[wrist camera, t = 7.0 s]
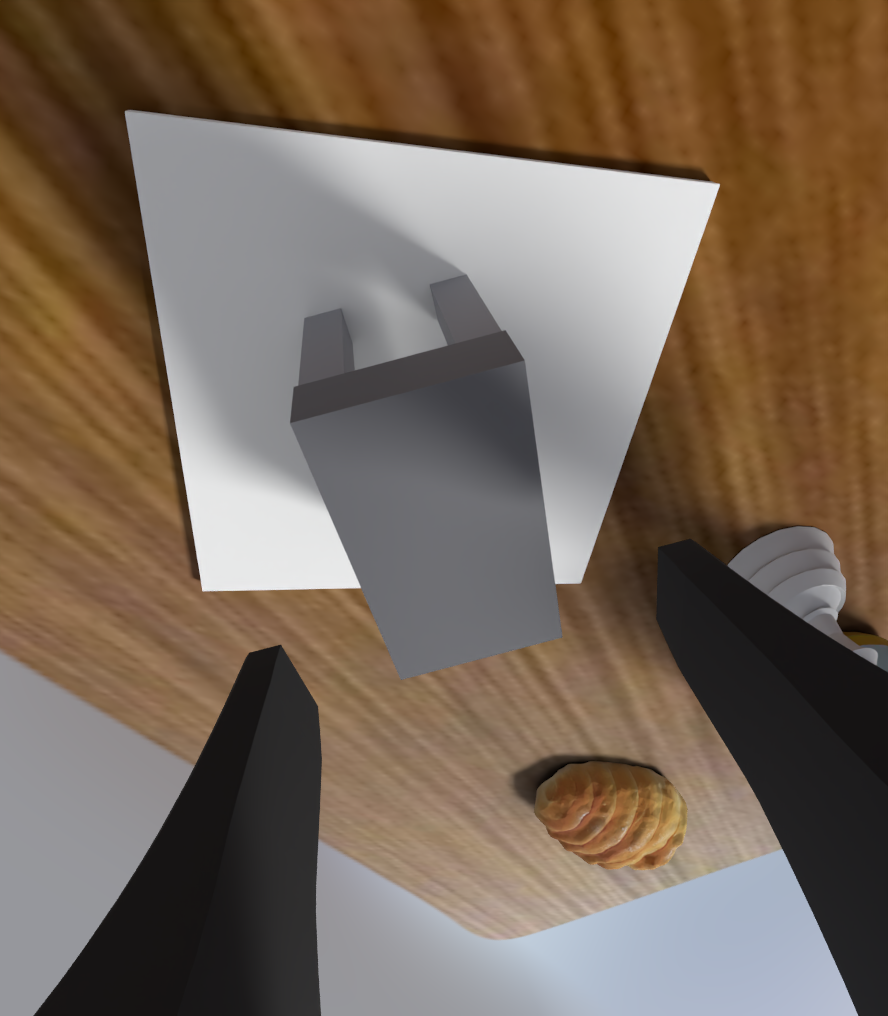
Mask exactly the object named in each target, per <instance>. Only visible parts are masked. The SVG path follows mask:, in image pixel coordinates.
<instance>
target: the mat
mask: <svg viewBox="0 0 888 1016" xmlns="http://www.w3.org/2000/svg"><path fill="white" fill-rule="evenodd" d="M125 117H126V123H127V129H128V135H129V141H130V147H131V153H132V160H133V166H134V172H135V178H136V184H137V190H138V197H139V203H140V209H141V215H142V221H143V227H144V233H145V240H146V246H147V252H148V258H149V264H150V270H151V277H152V283H153V289H154V295H155V301H156V307H157V313H158V320H159V326H160V332H161V338H162V344H163V350H164V356H165V363H166V369H167V375H168V381H169V387H170V393H171V400H172V406H173V412H174V418H175V424H176V430H177V436H178V443H179V449H180V455H181V461H182V467H183V473H184V480H185V486H186V492H187V498H188V504H189V510H190V516H191V523H192V529H193V535H194V541H195V547H196V553H197V560H198V566H199V572H200V578H201V584H202V590H203V591H238V590H287V589H335V588H361V586H360V584H359V582H358V579H357V577H356V575H355V573H354V570H353V568H352V566H351V563H350V561H349V559H348V556H347V554H346V552H345V549H344V547H343V545H342V542H341V540H340V538H339V536H338V533H337V531H336V529H335V526H334V524H333V522H332V519H331V517H330V515H329V512H328V510H327V508H326V505H325V503H324V501H323V499H322V496H321V494H320V492H319V489H318V487H317V485H316V482H315V480H314V478H313V475H312V473H311V471H310V469H309V466H308V464H307V462H306V459H305V457H304V455H303V452H302V450H301V448H300V445H299V443H298V441H297V438H296V436H295V434H294V432H293V429H292V427H291V425H290V418H291V408H292V398H293V389H294V387H295V386H298V382H299V371H300V360H301V349H302V338H303V327H304V318H306V317H310V316H314V315H317V314H321V313H325V312H329V311H332V310H336V309H340V308H341V309H342V312H343V316H344V319H345V322H346V325H347V328H348V331H349V334H350V337H351V340H352V343H353V354H354V366H355V370H358V369H362V368H366V367H370V366H373V365H377V364H381V363H385V362H388V361H392V360H396V359H399V358H403V357H407V356H411V355H414V354H418V353H422V352H426V351H429V350H433V349H437V348H441V347H444V346H448V345H447V342H446V340H445V337H444V335H443V332H442V330H441V327H440V325H439V322H438V319H437V315H436V310H435V306H434V302H433V297H432V293H431V288H430V284H433V283H436V282H440V281H444V280H448V279H451V278H455V277H459V276H462V275H466V274H467V276H468V277H469V279H470V281H471V282H472V284H473V285H474V287H475V289H476V290H477V292H478V294H479V295H480V297H481V298H482V300H483V302H484V303H485V305H486V306H487V308H488V310H489V311H490V313H491V314H492V316H493V318H494V319H495V321H496V323H497V324H498V326H499V327H500V329H501V331H504V330H506V332H507V333H508V335H509V336H510V338H511V339H512V341H513V343H514V344H515V346H516V347H517V349H518V350H519V352H520V354H521V355H522V357H523V358H524V360H525V365H526V372H527V380H528V387H529V394H530V402H531V409H532V417H533V424H534V431H535V439H536V446H537V453H538V461H539V468H540V476H541V483H542V490H543V498H544V505H545V512H546V520H547V527H548V535H549V542H550V549H551V557H552V564H553V571H554V579H555V584H577V583H581V581H582V578H583V575H584V573H585V570H586V567H587V564H588V561H589V558H590V555H591V553H592V550H593V547H594V544H595V541H596V538H597V535H598V533H599V530H600V527H601V524H602V521H603V518H604V515H605V512H606V510H607V507H608V504H609V501H610V498H611V495H612V492H613V490H614V487H615V484H616V481H617V478H618V475H619V472H620V470H621V467H622V464H623V461H624V458H625V455H626V452H627V449H628V447H629V444H630V441H631V438H632V435H633V432H634V429H635V427H636V424H637V421H638V418H639V415H640V412H641V409H642V407H643V404H644V401H645V398H646V395H647V392H648V389H649V386H650V384H651V381H652V378H653V375H654V372H655V369H656V366H657V364H658V361H659V358H660V355H661V352H662V349H663V346H664V344H665V341H666V338H667V335H668V332H669V329H670V326H671V323H672V321H673V318H674V315H675V312H676V309H677V306H678V303H679V301H680V298H681V295H682V292H683V289H684V286H685V283H686V281H687V278H688V275H689V272H690V269H691V266H692V263H693V260H694V258H695V255H696V252H697V249H698V246H699V243H700V240H701V238H702V235H703V232H704V229H705V226H706V223H707V220H708V218H709V215H710V212H711V209H712V206H713V203H714V200H715V197H716V195H717V192H718V189H719V186H720V184H718V183H715V182H711V181H703V180H695V179H687V178H679V177H671V176H663V175H655V174H646V173H638V172H630V171H622V170H614V169H606V168H598V167H590V166H582V165H574V164H565V163H557V162H549V161H541V160H533V159H525V158H517V157H509V156H501V155H493V154H484V153H476V152H468V151H460V150H452V149H444V148H436V147H428V146H420V145H411V144H403V143H395V142H387V141H379V140H371V139H363V138H355V137H347V136H339V135H330V134H322V133H314V132H306V131H298V130H290V129H282V128H274V127H266V126H257V125H249V124H241V123H233V122H225V121H217V120H209V119H201V118H193V117H185V116H176V115H168V114H160V113H152V112H144V111H136V110H127V111H125Z"/></svg>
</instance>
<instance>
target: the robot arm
mask: <svg viewBox="0 0 888 1016" xmlns="http://www.w3.org/2000/svg"><path fill="white" fill-rule="evenodd" d="M656 619H657V622H658V624H659V626H660V628H661V630H662V633H663V635H664V637H665V639H666V642H667V644H668V646H669V648H670V650H671V652H672V655H673V657H674V659H675V661H676V663H677V665H678V667H679V669H680V671H681V672H682V674H683V676H684V677H685V679H686V681H687V682H688V684H689V686H690V687H691V689H692V691H693V692H694V694H695V696H696V697H697V699H698V701H699V702H700V704H701V706H702V707H703V709H704V710H705V712H706V714H707V715H708V717H709V719H710V720H711V722H712V723H713V725H714V727H715V728H716V730H717V732H718V733H719V735H720V736H721V738H722V740H723V741H724V743H725V745H726V746H727V748H728V749H729V751H730V753H731V754H732V756H733V758H734V759H735V761H736V763H737V764H738V766H739V767H740V769H741V771H742V772H743V774H744V776H745V777H746V779H747V781H748V783H749V784H750V786H751V788H752V790H753V792H754V793H755V795H756V797H757V799H758V800H759V802H760V804H761V806H762V808H763V810H764V812H765V815H766V817H767V819H768V821H769V823H770V825H771V827H772V829H773V831H774V833H775V835H776V837H777V839H778V841H779V843H780V845H781V847H782V849H783V851H784V853H785V855H786V857H787V859H788V861H789V863H790V865H791V868H792V869H793V872H794V874H795V876H796V878H797V880H798V882H799V884H800V886H801V888H802V891H803V893H804V895H805V897H806V899H807V901H808V903H809V906H810V907H811V910H812V912H813V914H814V916H815V919H816V921H817V923H818V925H819V927H820V930H821V932H822V934H823V936H824V938H825V941H826V943H827V945H828V947H829V950H830V952H831V954H832V956H833V958H834V960H835V963H836V965H837V967H838V970H839V972H840V974H841V976H842V978H843V981H844V983H845V985H846V988H847V990H848V992H849V995H850V997H851V999H852V1002H853V1004H854V1006H855V1009H856V1011H857V1013H858V1016H888V672H887V671H885V670H883V669H882V668H880V667H878V666H877V665H875V664H873V663H871V662H870V661H868V660H866V659H865V658H863V657H861V656H860V655H858V654H856V653H855V652H853V651H852V650H850V649H848V648H847V647H845V646H843V645H842V644H840V643H839V642H837V641H835V640H834V639H832V638H831V637H829V636H827V635H826V634H824V633H823V632H821V631H820V630H818V629H817V628H815V627H814V626H812V625H810V624H809V623H807V622H806V621H804V620H803V619H802V618H800V617H799V616H797V615H796V614H794V613H793V612H791V611H790V610H788V609H787V608H785V607H784V606H782V605H781V604H780V603H778V602H777V601H775V600H774V599H772V598H771V597H769V596H768V595H767V594H765V593H764V592H762V591H761V590H760V589H758V588H757V587H755V586H754V585H753V584H751V583H750V582H749V581H747V580H746V579H744V578H743V577H742V576H740V575H739V574H738V573H736V572H735V571H734V570H732V569H731V568H730V567H728V566H727V565H726V564H724V563H723V562H722V561H720V560H719V559H718V558H716V557H715V556H714V555H712V554H711V553H710V552H708V551H707V550H706V549H704V548H703V547H702V546H700V545H699V544H698V543H696V542H695V541H693V540H692V539H688V540H684V541H680V542H676V543H673V544H669V545H665V546H661V547H658V577H657V615H656ZM321 766H322V756H321V739H320V726H319V714H318V706H317V704H316V702H315V701H314V699H313V697H312V696H311V694H310V692H309V691H308V689H307V687H306V686H305V684H304V682H303V681H302V679H301V677H300V676H299V674H298V672H297V671H296V669H295V667H294V666H293V664H292V662H291V661H290V659H289V657H288V656H287V654H286V652H285V651H284V649H283V647H282V646H281V645H278V646H274V647H270V648H266V649H262V650H258V651H254V652H251V653H249V654H248V656H247V657H246V659H245V661H244V663H243V666H242V668H241V670H240V672H239V674H238V676H237V679H236V681H235V683H234V685H233V688H232V690H231V692H230V694H229V696H228V698H227V701H226V703H225V705H224V707H223V709H222V711H221V714H220V716H219V718H218V720H217V722H216V724H215V726H214V728H213V730H212V732H211V734H210V737H209V739H208V741H207V743H206V745H205V747H204V749H203V751H202V753H201V755H200V757H199V759H198V761H197V763H196V765H195V767H194V769H193V771H192V773H191V775H190V776H189V778H188V780H187V782H186V784H185V786H184V788H183V789H182V791H181V793H180V795H179V797H178V799H177V800H176V802H175V804H174V806H173V808H172V810H171V811H170V814H169V815H168V817H167V819H166V820H165V822H164V824H163V826H162V828H161V830H160V831H159V833H158V835H157V836H156V838H155V840H154V841H153V843H152V845H151V846H150V848H149V850H148V851H147V853H146V855H145V856H144V858H143V860H142V861H141V863H140V865H139V866H138V868H137V869H136V871H135V873H134V874H133V876H132V877H131V879H130V880H129V882H128V884H127V885H126V887H125V888H124V890H123V891H122V893H121V895H120V896H119V898H118V899H117V901H116V902H115V904H114V905H113V907H112V908H111V910H110V911H109V912H108V914H107V915H106V917H105V918H104V920H103V921H102V923H101V924H100V926H99V927H98V929H97V930H96V931H95V933H94V935H93V936H92V937H91V939H90V940H89V942H88V943H87V945H86V946H85V948H84V949H83V950H82V952H81V953H80V955H79V956H78V957H77V959H76V960H75V962H74V963H73V964H72V966H71V967H70V968H69V970H68V971H67V973H66V974H65V975H64V977H63V978H62V979H61V981H60V982H59V984H58V985H57V986H56V987H55V989H54V990H53V991H52V992H51V994H50V995H49V996H48V998H47V999H46V1000H45V1002H44V1003H43V1004H42V1005H41V1007H40V1008H39V1009H38V1011H37V1012H36V1013H35V1015H34V1016H321V1009H320V993H319V976H318V954H317V930H316V875H317V853H318V834H319V813H320V791H321Z"/></svg>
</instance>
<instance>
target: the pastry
mask: <svg viewBox="0 0 888 1016" xmlns="http://www.w3.org/2000/svg"><path fill="white" fill-rule="evenodd" d="M534 813H535V815H536V816H537V818H538V819H539V820H540V821H541V822H542V823H543V824H544V825H545V826H546V829H547V831H548V834H549V835H550V836H551V837H552V838H555V839H558V841H559V842H560V843H561V844H562V846H563V847H564V849H566V850H567V851H572V852H573V853H574V854H576V855H578V856H579V857H581V858H582V859H583V860H584V861H585V862H587V863H588V864H592V865H594V864H598V865H599V866H601V867H603V868H605V869H619V868H621V867H623V866H625V865H627V866H629V867H630V868H632V869H633V870H648V869H650V870H653V869H656V868H657V867H659V866H662V865H665V864H666V863H667V862H668V861H669V860H670V859H671V858H672V856H673V855H674V853H675V850H676V848H677V847H678V846H680V845H682V843H683V839H684V836H685V833H686V827H687V806H686V802H685V801H684V799H683V797H682V796H681V795H680V793H679V792H678V791H677V790H676V789H675V787H674V786H673V785H672V784H671V783H670V782H669V781H668V780H667V779H666V778H665V777H662V776H660V775H658V774H657V773H655V772H654V771H653V770H651V769H647V768H642V767H639V766H635V767H633V766H630V765H627V764H619V763H610V762H602V761H589V762H587V763H584V764H568V765H566V766H565V767H564V768H562V769H560V770H558V771H557V773H556V774H555V775H554V776H552V777H551V778H550V779H548V780H546V781H545V782H544V783H542V784H541V785H540V786H539V788H538V789H537V793H536V802H535V808H534Z"/></svg>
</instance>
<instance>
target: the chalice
mask: <svg viewBox="0 0 888 1016" xmlns="http://www.w3.org/2000/svg"><path fill="white" fill-rule="evenodd" d="M727 566H728V567H730V568H731V569H732V570H734V571H735V572H736V573H738V574H739V575H740V576H742V577H743V578H744V579H746V580H747V581H749V582H750V583H751V584H753V585H754V586H755V587H757V588H758V589H760V590H761V591H762V592H764V593H765V594H767V595H768V596H769V597H771V598H772V599H774V600H775V601H777V602H778V603H780V604H781V605H782V606H784V607H785V608H787V609H788V610H790V611H791V612H793V613H794V614H796V615H797V616H799V617H800V618H802V619H803V620H804V621H806V622H807V623H809V624H810V625H812V626H814V627H815V628H817V629H818V630H820V631H821V632H823V633H824V634H826V635H827V636H829V637H831V638H832V639H834V640H835V641H837V642H839V643H840V644H842V645H843V646H845V647H847V648H848V649H850V650H852V651H853V652H855V653H856V654H858V655H860V656H861V657H863V658H865V659H866V660H868V661H870V662H871V663H873V664H875V665H877V658H878V653H877V652H876V650H874V649H872V648H866V647H860V646H859V645H857V644H856V643H855V642H853V641H852V640H851V639H849V638H848V637H847V636H845V635H844V634H843V633H842V631H841V629H840V627H839V625H838V624H837V622H836V620H837V617H838V612H839V611H840V610H841V608H842V607H843V604H844V602H845V598H846V579H845V578H844V577H843V575H842V574H841V572H840V562H839V561H838V559H837V558H836V556H835V555H834V548H833V542H832V540H831V539H830V537H829V536H828V535H827V533H825V532H823V531H821V530H819V529H817V528H815V527H801V526H797V527H792V528H787V529H782V530H778V531H776V532H773V533H771V534H769V535H766V536H764V537H762V538H759V539H758V540H756V541H755V542H753V543H752V544H750V545H749V546H747V547H746V548H744V549H743V550H742V551H741V552H740V553H739V554H738V555H737V556H736V557H735V558H734V559H733V560H732V561H731V562H730V563H729V564H728V565H727Z"/></svg>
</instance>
